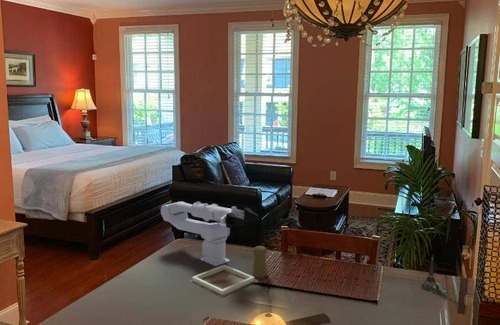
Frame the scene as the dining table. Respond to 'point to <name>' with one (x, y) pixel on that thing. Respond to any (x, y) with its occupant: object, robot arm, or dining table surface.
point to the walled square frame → (223, 291)
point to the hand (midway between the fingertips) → (251, 220)
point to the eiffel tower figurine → (433, 284)
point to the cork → (259, 262)
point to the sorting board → (223, 281)
